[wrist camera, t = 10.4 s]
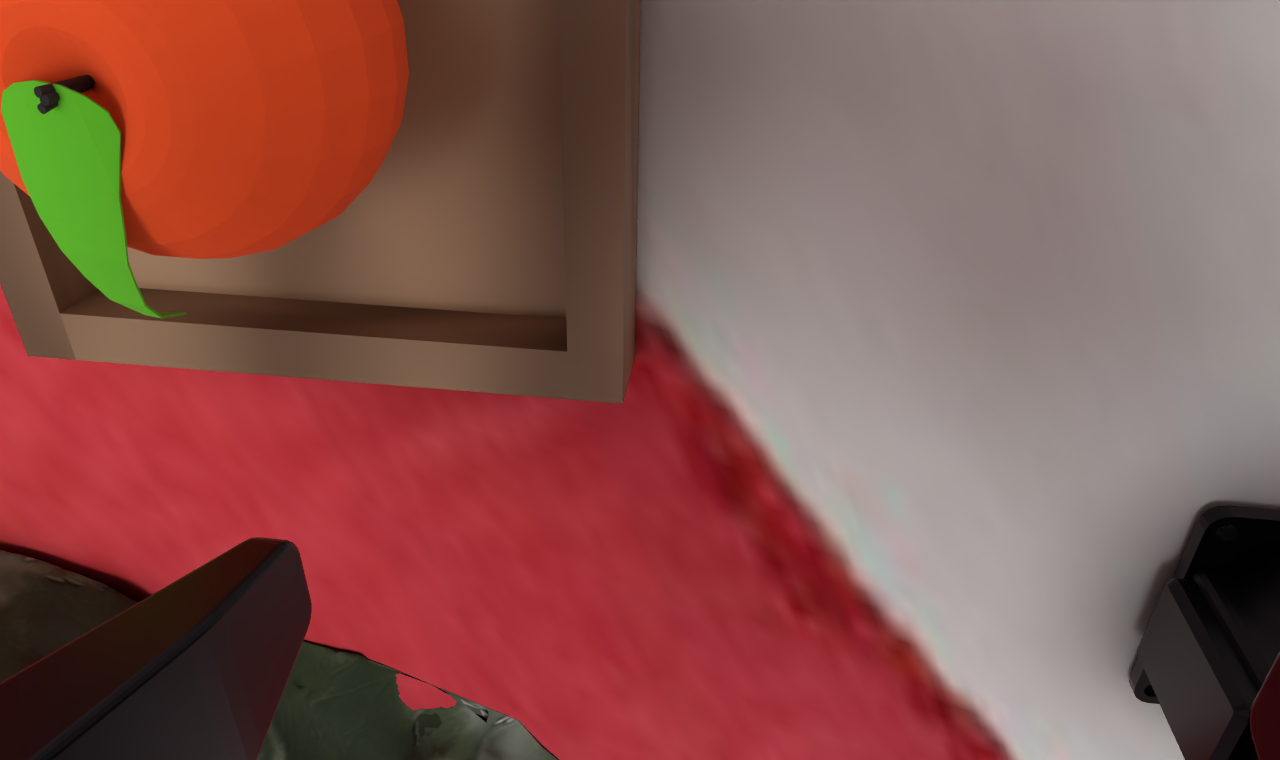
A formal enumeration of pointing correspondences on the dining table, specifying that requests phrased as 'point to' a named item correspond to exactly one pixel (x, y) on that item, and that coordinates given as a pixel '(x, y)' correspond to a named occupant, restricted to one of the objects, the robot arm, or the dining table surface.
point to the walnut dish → (415, 232)
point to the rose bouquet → (312, 699)
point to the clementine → (194, 122)
